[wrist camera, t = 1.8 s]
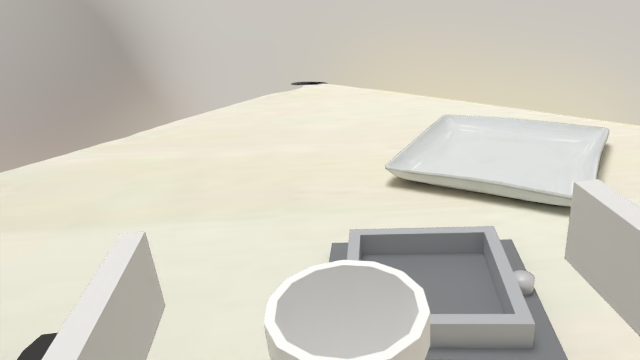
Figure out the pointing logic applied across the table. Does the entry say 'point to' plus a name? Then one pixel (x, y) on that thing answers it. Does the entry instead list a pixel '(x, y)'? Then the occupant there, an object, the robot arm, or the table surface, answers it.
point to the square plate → (504, 157)
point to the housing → (465, 290)
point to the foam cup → (348, 314)
